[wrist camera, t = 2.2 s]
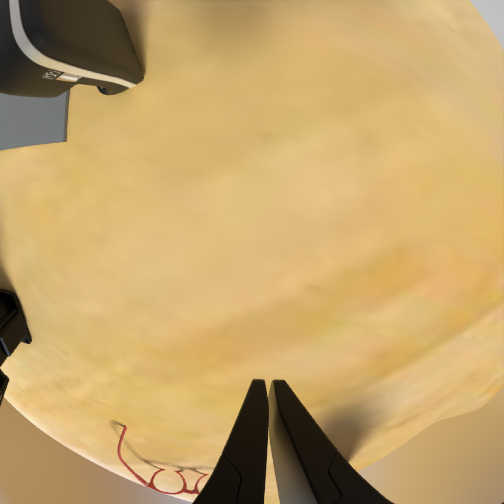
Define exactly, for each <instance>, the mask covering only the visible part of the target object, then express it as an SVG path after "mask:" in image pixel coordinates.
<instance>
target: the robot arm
mask: <svg viewBox="0 0 504 504" xmlns="http://www.w3.org/2000/svg"><path fill="white" fill-rule="evenodd" d="M20 342H24V343H27V344H30V343H31V342H32V339H31V337H30V334H29V331H28V329H27V326H26V324H25V321H24V318H23V315H22V312H21V309H20V306H19V303H18V300H17V297H16V295H15V294H14V293H13V292H9V291H5V290H1V289H0V367H1V366H2V364H3V363H4V361H5V360H6V359H7V357H8V356H9V357H10V356H11V355H12V353H13V352H14V350H15V349H16V348H17V346H18V345H19V344H20ZM8 382H9V378H8V377H7V375H5V374H4V373H3V372H2V370H1V369H0V405H1V402H2V399H3V396H4V393H5V391H6V388H7V385H8ZM268 427H269V438H270V445H271V451H272V458H273V464H274V470H275V476H276V482H277V488H278V494H279V499H280V504H394V503H392V502H391V501H389V500H388V499H386V498H385V497H384V496H383V495H381V494H380V493H379V492H378V491H377V490H376V489H375V488H373V487H372V486H371V485H370V484H369V483H368V482H367V481H366V480H365V479H364V478H363V477H361V475H360V474H359V473H357V472H356V471H355V470H354V469H353V467H352V466H351V465H350V464H349V463H348V462H347V461H346V459H345V458H344V457H343V456H342V455H341V453H340V452H339V451H337V448H336V447H335V446H334V445H333V443H332V442H331V441H330V439H329V438H328V437H327V436H326V434H325V433H324V432H323V430H322V429H321V428H320V427H319V425H318V424H317V423H316V421H315V420H314V419H313V417H312V416H311V415H310V414H309V412H308V411H307V410H306V408H305V407H304V406H303V404H302V403H301V402H300V400H299V399H298V397H297V396H296V395H295V393H294V392H293V391H292V389H291V388H290V387H289V385H288V384H287V383H286V381H285V380H273V381H272V383H271V387H270V391H269V396H268V397H267V391H266V384H265V380H263V379H253V380H252V382H251V385H250V387H249V390H248V392H247V395H246V397H245V399H244V402H243V404H242V407H241V409H240V412H239V414H238V416H237V419H236V421H235V424H234V426H233V428H232V431H231V433H230V435H229V438H228V440H227V442H226V445H225V447H224V449H223V452H222V455H221V456H220V458H219V460H218V462H217V465H216V467H215V469H214V471H213V473H212V475H211V476H210V478H209V480H208V481H207V483H206V484H205V486H204V487H203V489H202V490H201V492H200V493H199V495H198V496H197V497H196V499H195V500H194V502H193V503H192V504H264V494H265V479H266V463H267V446H268ZM501 504H504V502H503V503H501Z"/></svg>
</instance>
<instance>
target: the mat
mask: <svg viewBox="0 0 504 504" xmlns="http://www.w3.org/2000/svg"><path fill="white" fill-rule="evenodd" d="M69 92H70V89H69V90H67V91H66V92H64V93H63V94H61V95H59V96H57V97H54V98H38V97H25V96H14V95H7V94H3V93H0V150H5V149H11V148H18V147H24V146H32V145H40V144H48V143H58V142H66V136H67V115H68V102H69Z"/></svg>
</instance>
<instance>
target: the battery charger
mask: <svg viewBox="0 0 504 504" xmlns="http://www.w3.org/2000/svg"><path fill="white" fill-rule="evenodd" d="M143 79H144V75H143V72H142V69H141V66H140V64H139V61H138V58H137V56H136V53H135V50H134V47H133V45H132V42H131V39H130V37H129V34H128V31H127V28H126V26H125V23H124V20H123V17H122V15H121V12H120V10H119V9H118V8H116V7H115V6H114V5H113V4H111V3H110V2H109V1H108V0H0V93H3V94H7V95H14V96H25V97H38V98H54V97H57V96H59V95H61V94H63V93H64V92H66V91H67V90H69V89H70V88H72V87H73V86H74V85H77V84H85V85H92V86H97V88H98V90H99V91H100V92H101V93H102V94H105V95H114V94H118V93H121V92H123V91H125V90H127V89H129V88H133V87H135V86H137V84H138V83H140V82H141V81H143Z"/></svg>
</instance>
